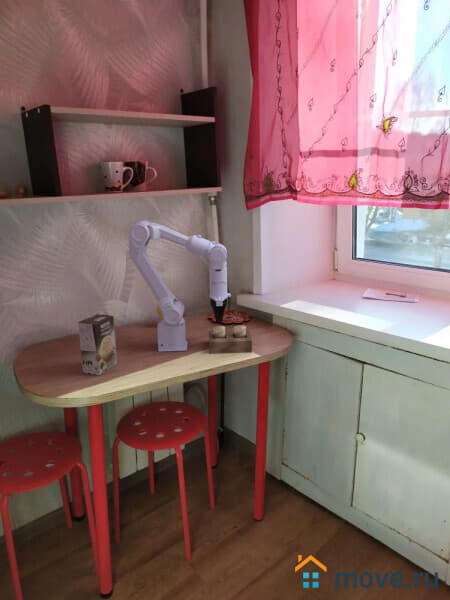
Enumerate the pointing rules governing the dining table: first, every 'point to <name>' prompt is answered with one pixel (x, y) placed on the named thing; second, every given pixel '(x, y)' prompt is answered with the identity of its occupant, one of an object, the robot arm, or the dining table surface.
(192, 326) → the dining table surface
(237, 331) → the right peg
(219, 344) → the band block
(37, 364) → the dining table surface
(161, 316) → the light bulb
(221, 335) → the left peg
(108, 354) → the coffee box
